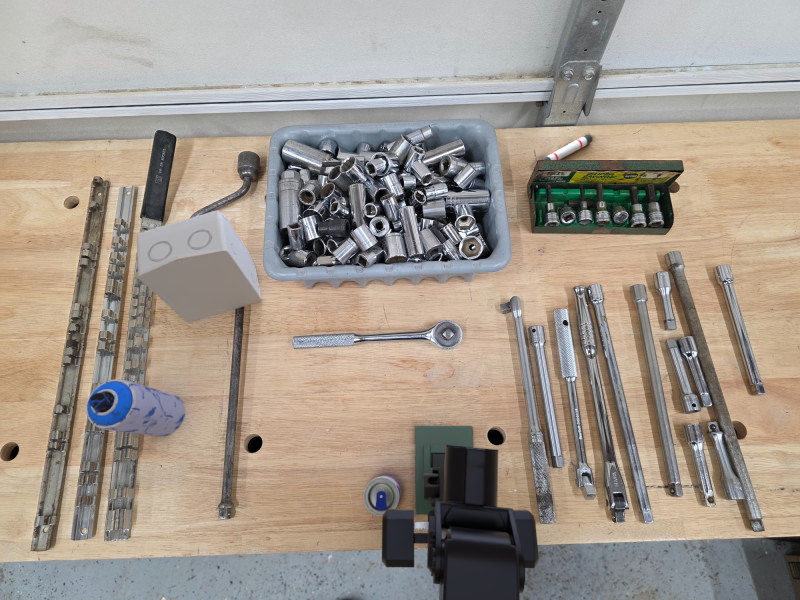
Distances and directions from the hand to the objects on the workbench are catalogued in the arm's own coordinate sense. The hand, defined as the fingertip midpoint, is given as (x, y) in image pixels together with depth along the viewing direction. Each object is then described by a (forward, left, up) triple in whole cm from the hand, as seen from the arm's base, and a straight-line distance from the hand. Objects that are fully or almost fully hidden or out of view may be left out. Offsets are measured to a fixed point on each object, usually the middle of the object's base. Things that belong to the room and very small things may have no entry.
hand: (452, 529), depth 63 cm
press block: (+8, 0, -13) cm, 15 cm away
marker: (+73, -28, -13) cm, 79 cm away
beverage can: (+4, +10, -13) cm, 17 cm away
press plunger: (+8, 0, -9) cm, 12 cm away
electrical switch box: (+44, +44, -13) cm, 64 cm away
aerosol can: (+17, +50, -13) cm, 54 cm away
